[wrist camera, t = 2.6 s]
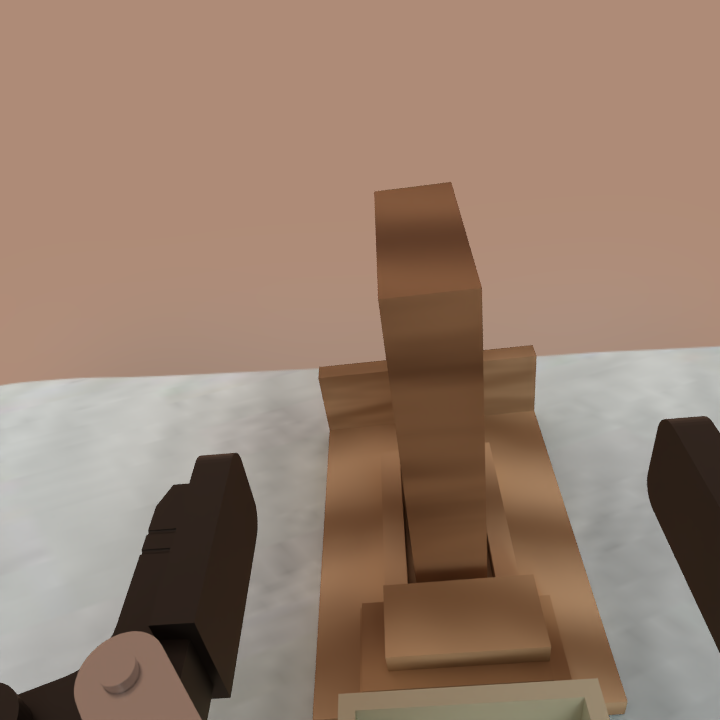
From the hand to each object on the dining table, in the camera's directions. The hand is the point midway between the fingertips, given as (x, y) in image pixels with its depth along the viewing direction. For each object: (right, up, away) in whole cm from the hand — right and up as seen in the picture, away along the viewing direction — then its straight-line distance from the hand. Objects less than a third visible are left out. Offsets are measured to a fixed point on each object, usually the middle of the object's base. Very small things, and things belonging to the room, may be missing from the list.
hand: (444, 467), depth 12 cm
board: (+2, -6, +19) cm, 20 cm away
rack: (+3, -7, +19) cm, 21 cm away
